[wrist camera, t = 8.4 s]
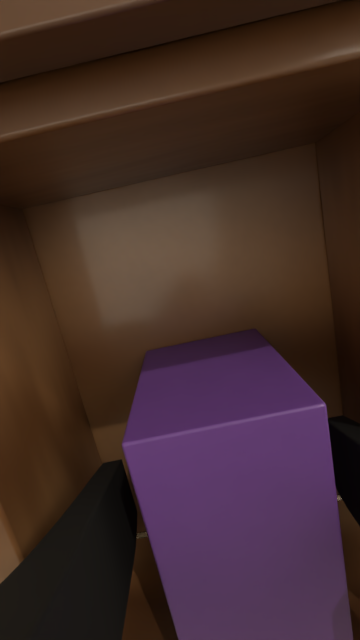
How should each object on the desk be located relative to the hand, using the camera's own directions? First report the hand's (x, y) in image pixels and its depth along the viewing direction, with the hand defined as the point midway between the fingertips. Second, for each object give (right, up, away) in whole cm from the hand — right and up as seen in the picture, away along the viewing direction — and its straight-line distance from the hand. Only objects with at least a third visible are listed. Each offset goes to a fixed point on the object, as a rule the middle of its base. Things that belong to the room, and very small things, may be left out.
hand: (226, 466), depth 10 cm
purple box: (0, 0, +2) cm, 2 cm away
